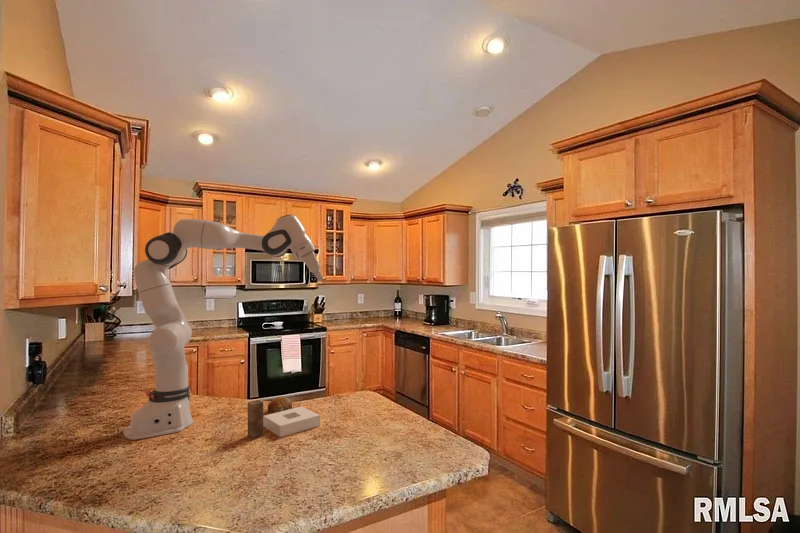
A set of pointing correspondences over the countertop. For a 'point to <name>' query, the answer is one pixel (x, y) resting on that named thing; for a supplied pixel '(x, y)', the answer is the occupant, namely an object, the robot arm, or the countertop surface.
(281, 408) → the bread roll
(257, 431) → the walnut peg
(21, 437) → the countertop surface
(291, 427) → the socket block
